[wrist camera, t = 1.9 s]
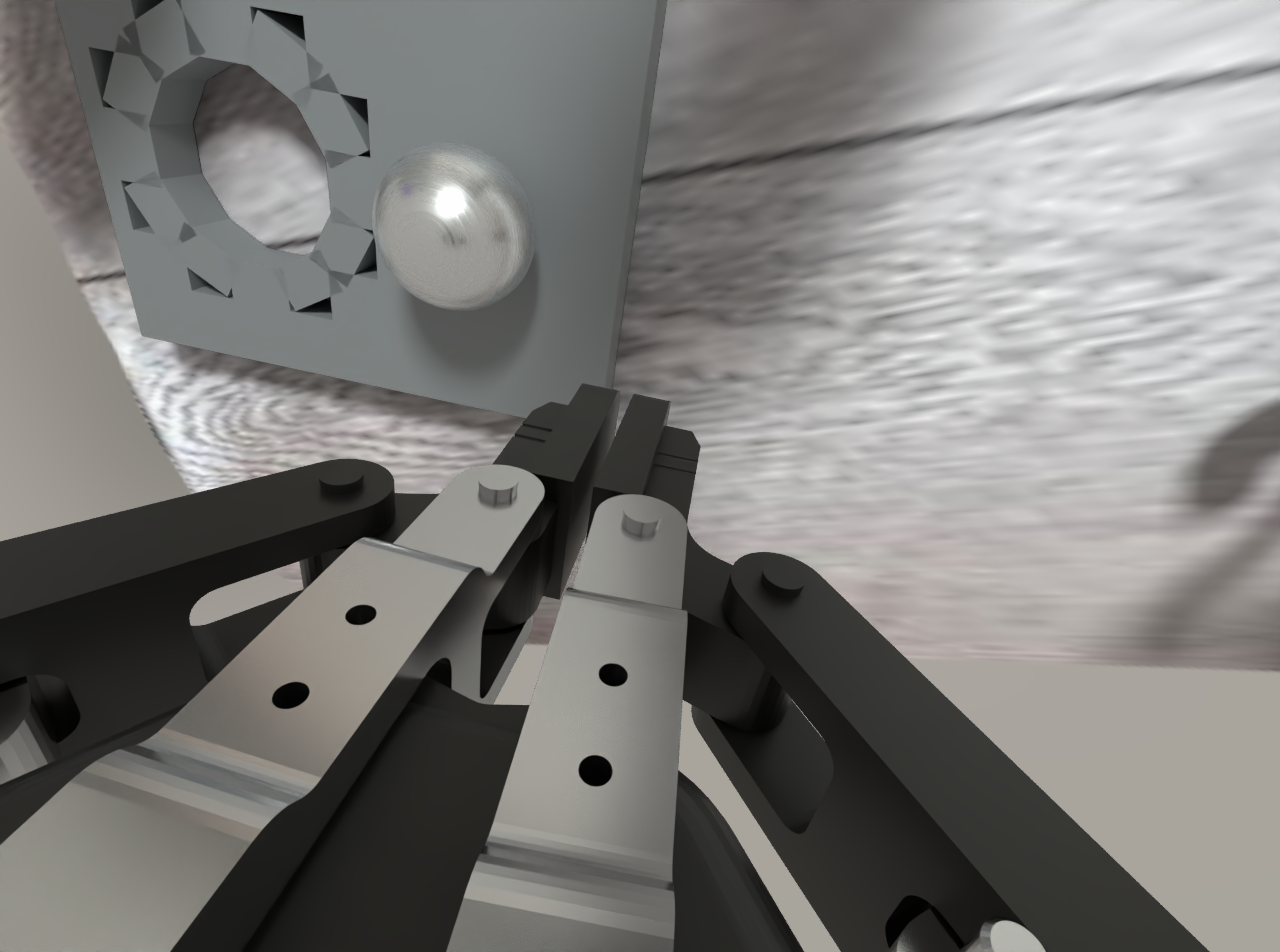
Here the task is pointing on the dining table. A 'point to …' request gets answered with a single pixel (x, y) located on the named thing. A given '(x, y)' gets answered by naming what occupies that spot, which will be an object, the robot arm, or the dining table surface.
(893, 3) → the dining table surface
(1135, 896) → the robot arm
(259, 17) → the grey gear-hole plate
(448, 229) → the ball
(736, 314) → the dining table surface
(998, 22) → the dining table surface
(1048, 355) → the dining table surface
